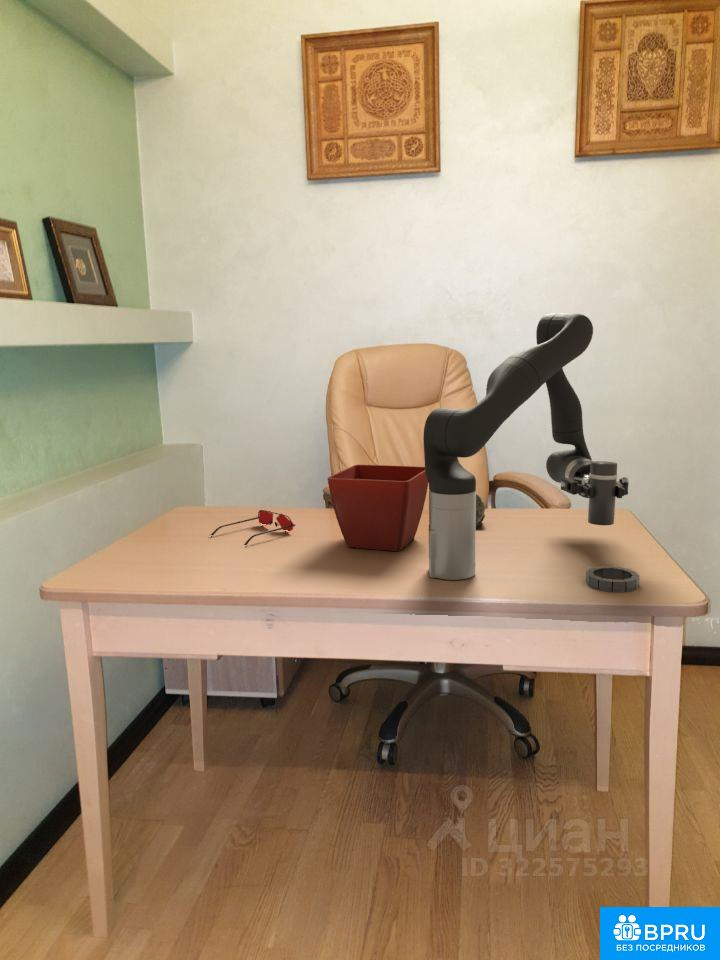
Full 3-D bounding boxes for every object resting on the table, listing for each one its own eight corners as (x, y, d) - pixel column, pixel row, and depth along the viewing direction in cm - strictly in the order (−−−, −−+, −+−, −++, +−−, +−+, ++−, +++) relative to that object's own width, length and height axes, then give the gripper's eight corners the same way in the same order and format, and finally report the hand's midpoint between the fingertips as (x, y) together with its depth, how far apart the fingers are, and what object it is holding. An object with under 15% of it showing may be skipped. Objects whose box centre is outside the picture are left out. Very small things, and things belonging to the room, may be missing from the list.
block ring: (593, 592, 140) (593, 581, 140) (581, 576, 149) (581, 566, 149) (644, 592, 139) (645, 581, 139) (629, 575, 149) (630, 566, 148)
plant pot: (357, 529, 188) (355, 463, 185) (431, 535, 181) (431, 466, 178) (327, 550, 170) (325, 477, 167) (409, 557, 164) (408, 481, 161)
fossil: (452, 529, 184) (444, 490, 186) (440, 538, 192) (433, 501, 195) (493, 524, 186) (484, 486, 189) (480, 533, 195) (472, 496, 197)
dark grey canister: (590, 525, 149) (593, 465, 146) (584, 519, 154) (587, 461, 151) (617, 525, 148) (621, 465, 146) (610, 519, 153) (613, 461, 151)
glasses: (296, 535, 186) (295, 515, 185) (242, 549, 174) (241, 528, 173) (261, 526, 195) (260, 507, 194) (207, 539, 184) (206, 519, 183)
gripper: (552, 460, 164) (569, 474, 147) (620, 460, 163) (645, 474, 146) (551, 494, 165) (568, 511, 148) (618, 494, 164) (642, 512, 147)
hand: (606, 493), depth 147 cm, fingers closed on dark grey canister, 5 cm apart
